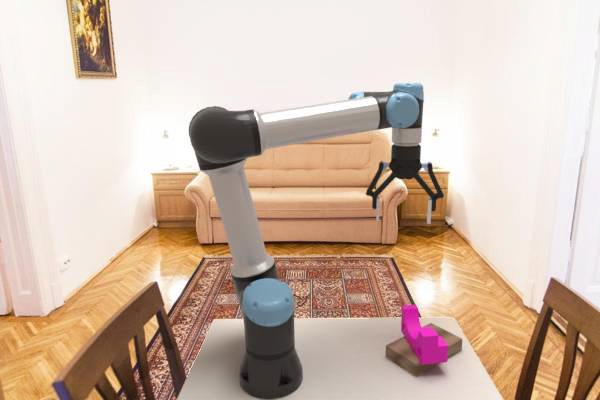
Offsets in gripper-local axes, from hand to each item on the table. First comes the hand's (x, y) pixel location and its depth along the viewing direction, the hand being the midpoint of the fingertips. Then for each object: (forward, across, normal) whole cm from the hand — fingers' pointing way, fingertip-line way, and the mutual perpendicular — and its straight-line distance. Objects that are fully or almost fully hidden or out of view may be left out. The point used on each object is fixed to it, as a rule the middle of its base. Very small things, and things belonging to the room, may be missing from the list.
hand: (402, 221), depth 120 cm
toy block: (+28, -6, +15) cm, 33 cm away
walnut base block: (+32, -6, +13) cm, 35 cm away
